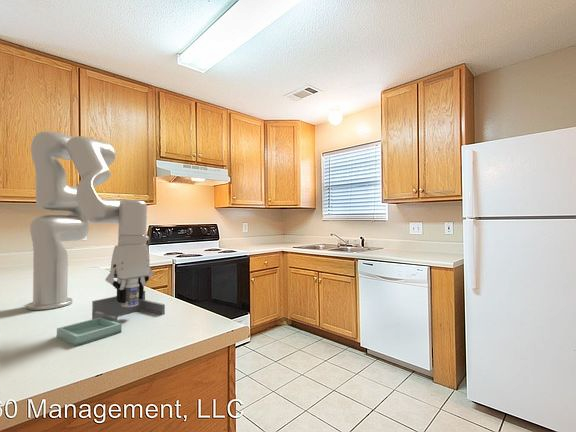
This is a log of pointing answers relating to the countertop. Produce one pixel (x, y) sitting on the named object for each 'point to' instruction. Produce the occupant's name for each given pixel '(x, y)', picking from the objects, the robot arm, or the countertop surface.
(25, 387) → the countertop surface
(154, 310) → the bay
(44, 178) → the robot arm
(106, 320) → the tray
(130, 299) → the pill bottle
